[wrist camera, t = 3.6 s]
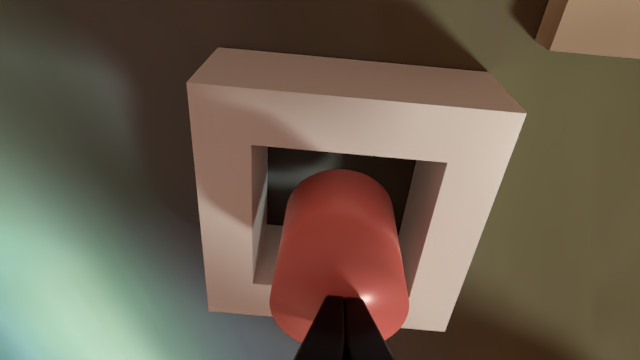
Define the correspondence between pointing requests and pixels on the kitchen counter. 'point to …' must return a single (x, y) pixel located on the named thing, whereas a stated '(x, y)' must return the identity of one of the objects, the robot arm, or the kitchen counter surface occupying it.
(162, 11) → the kitchen counter surface
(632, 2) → the board
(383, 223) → the button
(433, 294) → the square ring frame
